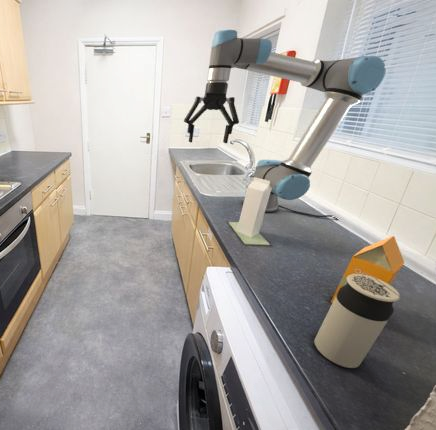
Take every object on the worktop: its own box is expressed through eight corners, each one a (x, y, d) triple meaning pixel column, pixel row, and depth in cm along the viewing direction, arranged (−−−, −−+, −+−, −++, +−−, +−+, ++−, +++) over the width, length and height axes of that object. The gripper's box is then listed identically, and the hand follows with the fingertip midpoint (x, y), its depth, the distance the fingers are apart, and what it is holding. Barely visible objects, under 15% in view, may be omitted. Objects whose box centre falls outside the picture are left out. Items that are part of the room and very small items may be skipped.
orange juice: (378, 307, 69) (417, 242, 61) (366, 321, 65) (406, 252, 56) (342, 290, 75) (373, 228, 67) (329, 301, 71) (360, 237, 62)
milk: (250, 237, 101) (266, 182, 91) (236, 231, 105) (249, 178, 96) (258, 233, 104) (274, 179, 95) (244, 227, 109) (257, 175, 99)
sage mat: (249, 223, 113) (249, 222, 113) (270, 245, 97) (270, 244, 96) (228, 222, 113) (228, 221, 113) (245, 244, 97) (245, 243, 97)
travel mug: (325, 365, 54) (363, 297, 46) (307, 333, 61) (336, 270, 53) (369, 372, 53) (415, 304, 45) (345, 339, 60) (381, 275, 52)
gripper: (248, 83, 98) (236, 141, 107) (180, 82, 99) (174, 139, 108) (257, 82, 91) (243, 144, 100) (184, 81, 92) (177, 143, 101)
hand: (207, 142), depth 104 cm, fingers open, 13 cm apart
